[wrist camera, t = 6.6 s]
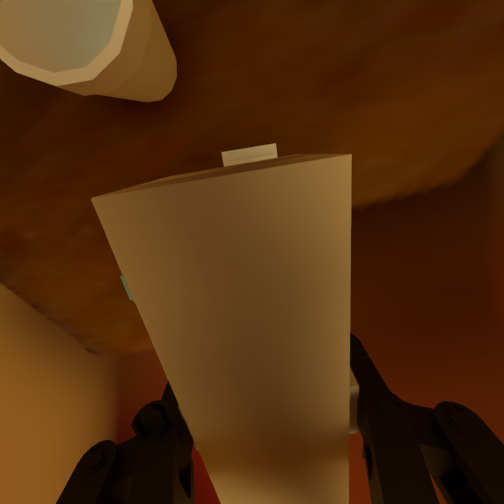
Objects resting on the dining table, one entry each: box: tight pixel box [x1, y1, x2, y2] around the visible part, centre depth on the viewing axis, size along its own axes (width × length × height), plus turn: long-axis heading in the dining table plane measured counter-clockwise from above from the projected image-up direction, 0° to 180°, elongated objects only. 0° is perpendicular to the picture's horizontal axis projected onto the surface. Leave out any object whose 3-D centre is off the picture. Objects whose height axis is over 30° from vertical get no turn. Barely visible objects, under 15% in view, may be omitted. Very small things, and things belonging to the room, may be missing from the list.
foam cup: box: [0, 0, 177, 102], centre depth 17 cm, size 10×9×13 cm
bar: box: [91, 154, 352, 504], centre depth 10 cm, size 5×18×5 cm, turn 9°
